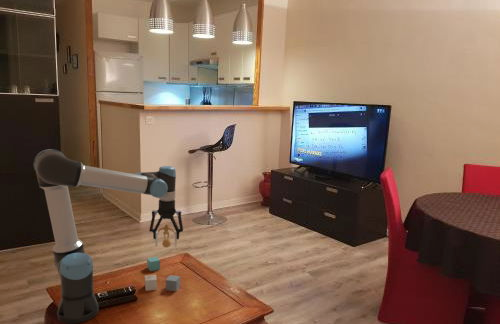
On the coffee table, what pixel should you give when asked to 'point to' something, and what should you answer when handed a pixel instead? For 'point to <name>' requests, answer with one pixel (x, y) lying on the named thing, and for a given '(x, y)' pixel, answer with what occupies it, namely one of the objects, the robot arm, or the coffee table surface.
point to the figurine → (166, 241)
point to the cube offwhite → (150, 282)
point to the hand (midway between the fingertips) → (166, 245)
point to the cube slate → (172, 283)
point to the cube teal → (153, 263)
